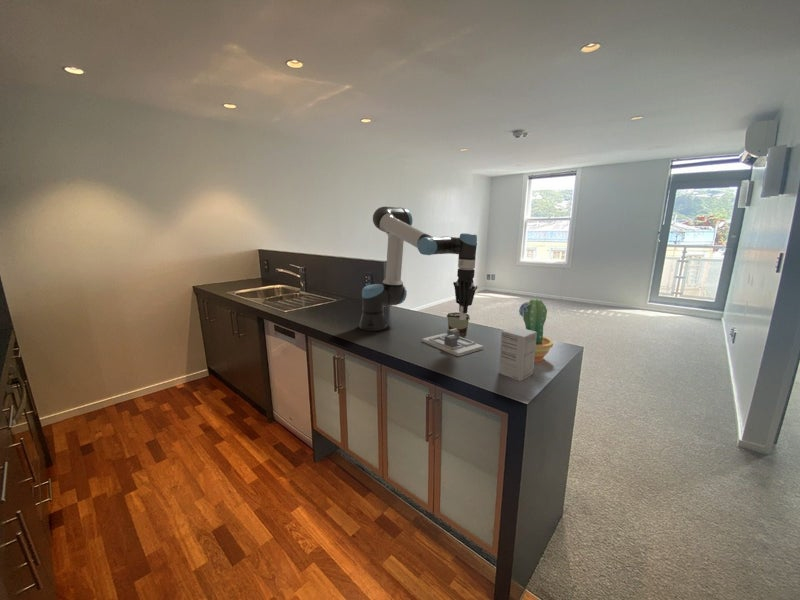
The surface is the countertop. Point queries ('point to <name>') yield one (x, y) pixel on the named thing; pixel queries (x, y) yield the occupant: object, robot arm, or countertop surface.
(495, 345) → the countertop surface
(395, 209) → the robot arm
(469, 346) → the switch board
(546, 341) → the potted cactus
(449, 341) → the tab
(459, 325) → the food container
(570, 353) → the countertop surface
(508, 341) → the supplement box
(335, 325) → the countertop surface
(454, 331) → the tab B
